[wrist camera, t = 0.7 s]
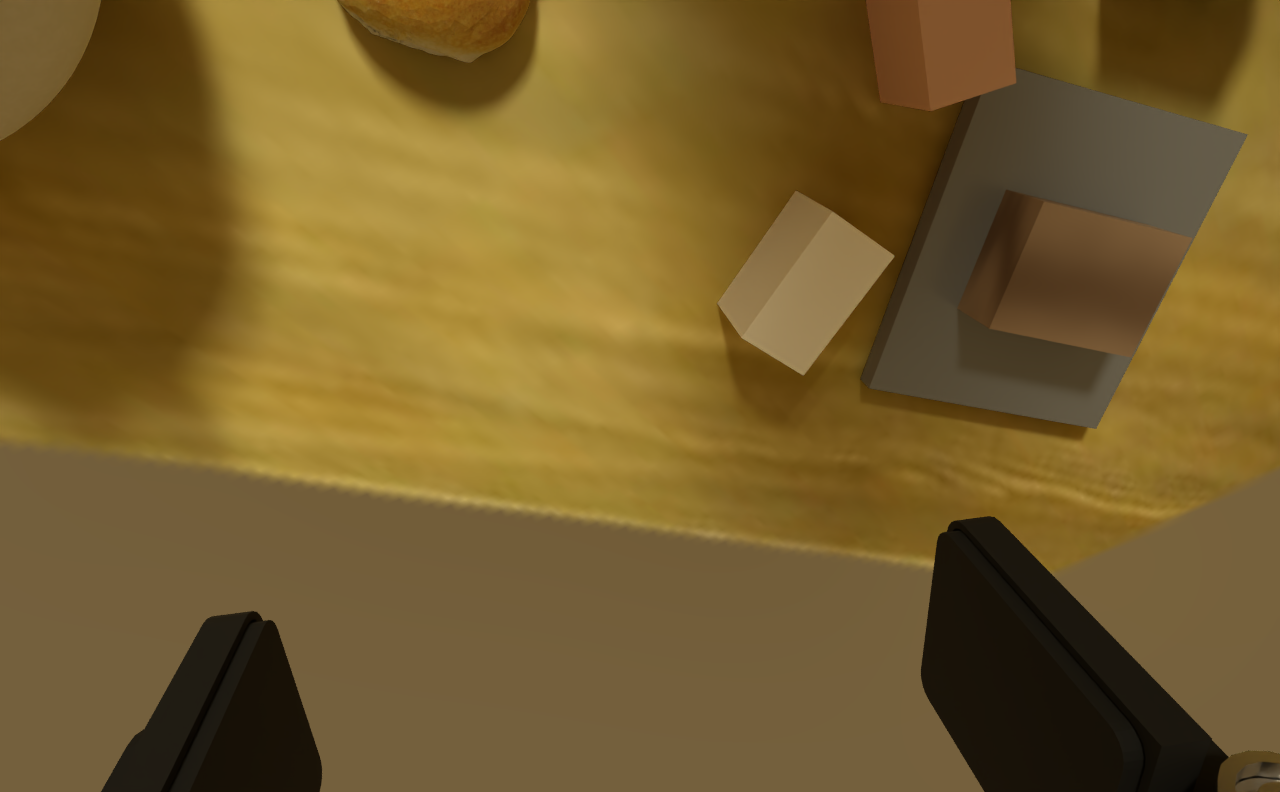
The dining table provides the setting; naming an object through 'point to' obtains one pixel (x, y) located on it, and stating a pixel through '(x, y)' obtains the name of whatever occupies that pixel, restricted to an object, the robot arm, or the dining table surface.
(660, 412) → the dining table surface
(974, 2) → the brick terracotta
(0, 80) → the kettle
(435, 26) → the bread roll
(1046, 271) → the brick walnut
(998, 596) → the robot arm
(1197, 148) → the slate board
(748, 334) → the brick cream
